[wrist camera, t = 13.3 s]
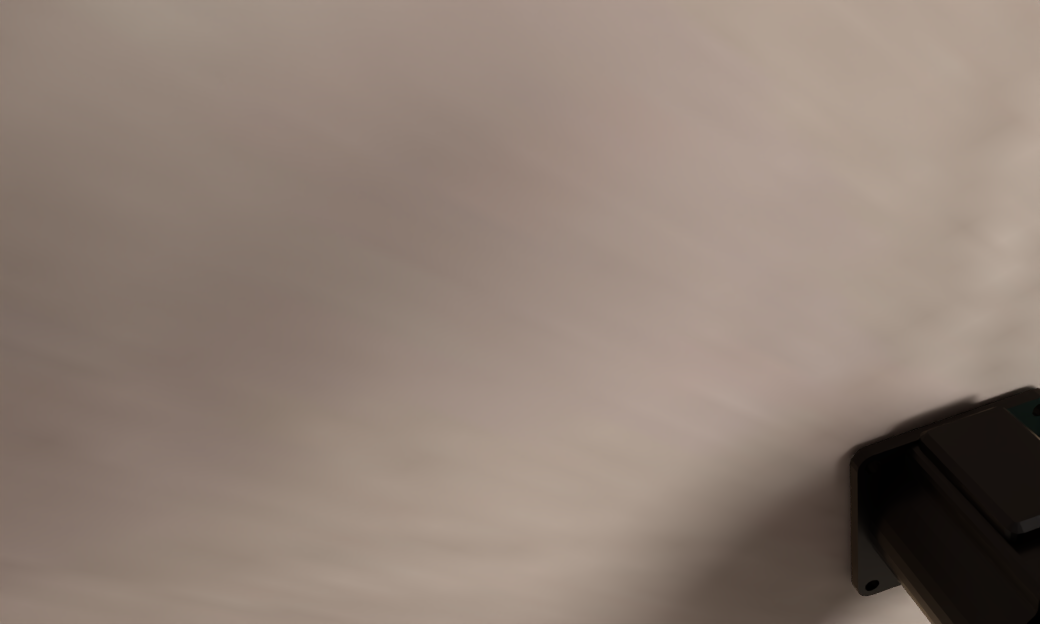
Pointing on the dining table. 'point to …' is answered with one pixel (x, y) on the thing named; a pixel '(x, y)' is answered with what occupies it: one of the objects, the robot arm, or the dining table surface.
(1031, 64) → the dining table surface
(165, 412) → the dining table surface
